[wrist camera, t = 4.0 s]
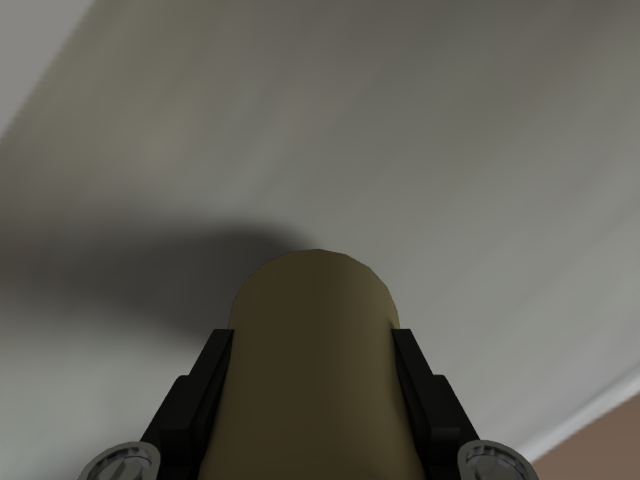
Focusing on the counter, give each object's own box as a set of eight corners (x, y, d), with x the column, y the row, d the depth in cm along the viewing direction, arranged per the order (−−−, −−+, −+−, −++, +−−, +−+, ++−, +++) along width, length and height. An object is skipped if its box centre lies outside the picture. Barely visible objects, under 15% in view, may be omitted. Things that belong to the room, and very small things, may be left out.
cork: (414, 382, 14) (720, 1133, 3) (258, 419, 14) (91, 1210, 4) (377, 228, 13) (714, 696, 2) (205, 273, 13) (-313, 884, 2)
